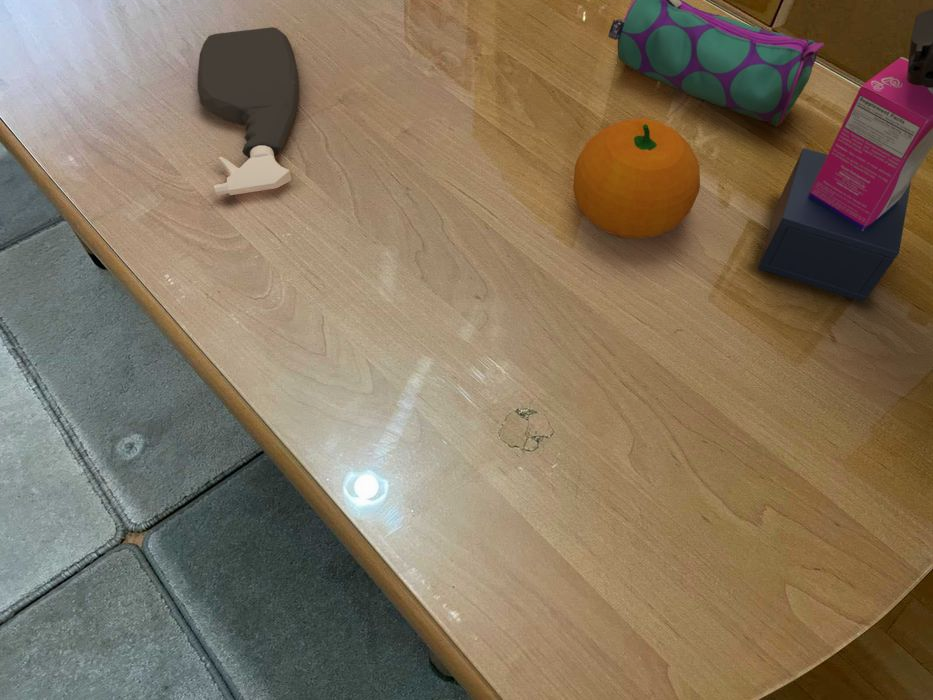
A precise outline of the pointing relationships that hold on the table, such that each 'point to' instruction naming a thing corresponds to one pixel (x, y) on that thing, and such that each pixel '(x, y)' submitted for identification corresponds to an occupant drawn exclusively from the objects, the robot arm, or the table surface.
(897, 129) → the supplement box
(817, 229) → the lid
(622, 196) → the fruit
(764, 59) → the pencil case
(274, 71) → the spray bottle
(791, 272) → the dark blue square block
